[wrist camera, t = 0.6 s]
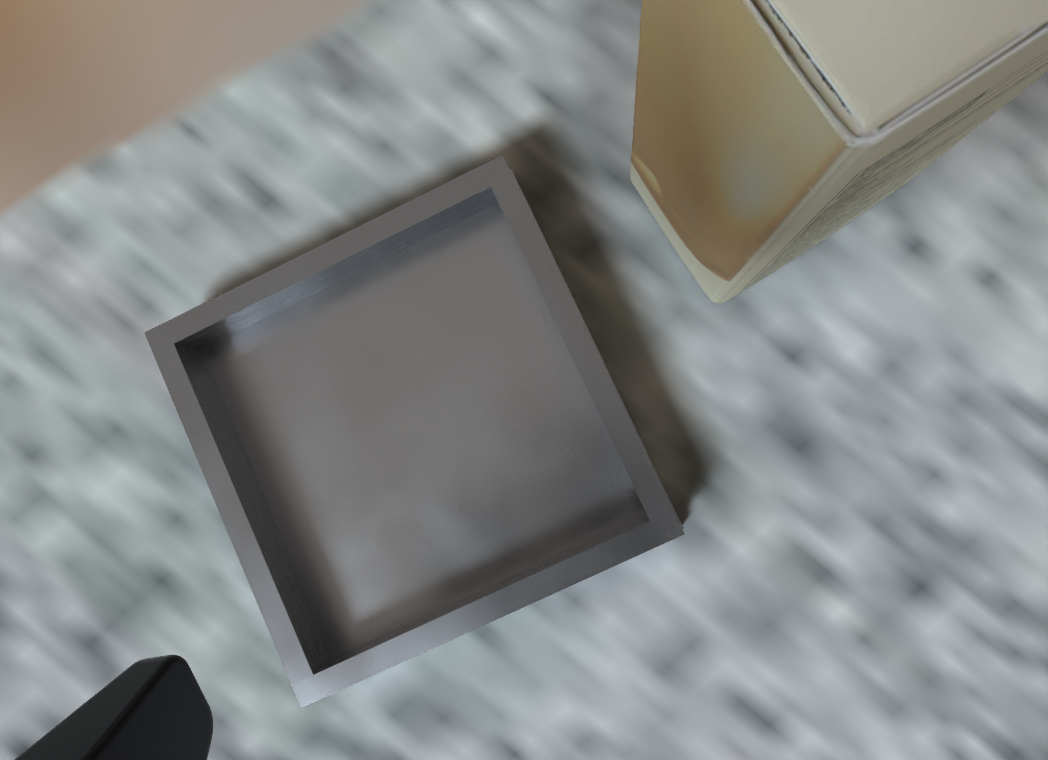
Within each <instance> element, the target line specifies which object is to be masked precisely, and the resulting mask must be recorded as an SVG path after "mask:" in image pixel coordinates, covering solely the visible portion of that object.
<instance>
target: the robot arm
mask: <svg viewBox="0 0 1048 760" xmlns="http://www.w3.org/2000/svg"><path fill="white" fill-rule="evenodd" d="M212 734H213V717H212V713H211V710H210V707H209V705H208V703H207V701H206V699H205V697H204V695H203V693H202V691H201V689H200V687H199V685H198V683H197V681H196V679H195V677H194V675H193V673H192V671H191V669H190V667H189V665H188V663H187V662H186V660H184V659H183V658H182V657H180V656H177V655H167V656H160V657H154V658H147V659H143V660H140V661H138V662H136V663H134V664H133V665H132V666H130V667H129V668H128V669H127V670H125V671H124V672H123V673H122V674H120V675H119V676H118V677H117V678H115V679H114V680H113V681H112V682H110V683H109V684H108V685H107V686H106V687H104V688H103V689H102V690H101V691H99V692H98V693H97V694H96V695H94V696H93V697H92V698H91V699H89V700H88V701H87V702H86V703H84V704H83V705H82V706H81V707H79V708H78V709H77V710H76V711H74V712H73V713H72V714H71V715H70V716H68V717H67V718H66V719H65V720H63V721H62V722H61V723H60V724H58V725H57V726H56V727H55V728H53V729H52V730H51V731H50V732H48V733H47V734H46V735H45V736H43V737H42V738H41V739H40V740H39V741H37V742H36V743H35V744H34V745H32V746H31V747H30V748H29V749H27V750H26V751H25V752H24V753H22V754H21V755H20V756H19V757H17V758H16V759H15V760H207V757H208V753H209V748H210V744H211V740H212Z"/></svg>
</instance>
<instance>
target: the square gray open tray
mask: <svg viewBox="0 0 1048 760" xmlns="http://www.w3.org/2000/svg"><path fill="white" fill-rule="evenodd" d="M145 335H146V337H147V340H148V342H149V345H150V347H151V349H152V352H153V354H154V357H155V359H156V361H157V364H158V366H159V369H160V371H161V373H162V376H163V378H164V381H165V383H166V385H167V388H168V390H169V393H170V395H171V397H172V400H173V402H174V405H175V407H176V409H177V412H178V414H179V417H180V419H181V421H182V424H183V426H184V429H185V431H186V433H187V436H188V438H189V441H190V443H191V445H192V448H193V450H194V453H195V455H196V457H197V460H198V462H199V465H200V467H201V469H202V472H203V474H204V476H205V479H206V481H207V484H208V486H209V488H210V491H211V493H212V496H213V498H214V500H215V503H216V505H217V508H218V510H219V512H220V515H221V517H222V520H223V522H224V524H225V527H226V529H227V532H228V534H229V536H230V539H231V541H232V544H233V546H234V548H235V551H236V553H237V556H238V558H239V560H240V563H241V565H242V568H243V570H244V572H245V575H246V577H247V580H248V582H249V584H250V587H251V589H252V592H253V594H254V596H255V599H256V601H257V603H258V606H259V608H260V611H261V613H262V615H263V618H264V620H265V623H266V625H267V627H268V630H269V632H270V635H271V637H272V639H273V642H274V644H275V647H276V649H277V651H278V654H279V656H280V659H281V661H282V663H283V666H284V668H285V671H286V673H287V675H288V678H289V680H290V683H291V685H292V687H293V690H294V692H295V695H296V697H297V699H298V702H299V704H300V707H301V708H302V707H305V706H307V705H309V704H311V703H313V702H316V701H318V700H320V699H322V698H324V697H327V696H329V695H331V694H333V693H335V692H338V691H340V690H342V689H344V688H346V687H349V686H351V685H353V684H355V683H357V682H360V681H362V680H364V679H366V678H368V677H371V676H373V675H375V674H377V673H380V672H382V671H384V670H386V669H388V668H391V667H393V666H395V665H397V664H399V663H402V662H404V661H406V660H408V659H410V658H413V657H415V656H417V655H419V654H421V653H424V652H426V651H428V650H430V649H432V648H435V647H437V646H439V645H441V644H443V643H446V642H448V641H450V640H452V639H454V638H457V637H459V636H461V635H463V634H465V633H468V632H470V631H472V630H474V629H476V628H479V627H481V626H483V625H485V624H488V623H490V622H492V621H494V620H496V619H499V618H501V617H503V616H505V615H507V614H510V613H512V612H514V611H516V610H518V609H521V608H523V607H525V606H527V605H529V604H532V603H534V602H536V601H538V600H540V599H543V598H545V597H547V596H549V595H551V594H554V593H556V592H558V591H560V590H562V589H565V588H567V587H569V586H571V585H573V584H576V583H578V582H580V581H582V580H585V579H587V578H589V577H591V576H593V575H596V574H598V573H600V572H602V571H604V570H607V569H609V568H611V567H613V566H615V565H618V564H620V563H622V562H624V561H626V560H629V559H631V558H633V557H635V556H637V555H640V554H642V553H644V552H646V551H648V550H651V549H653V548H655V547H657V546H659V545H662V544H664V543H666V542H668V541H670V540H673V539H675V538H677V537H679V536H681V535H684V532H683V530H682V529H684V528H683V526H682V523H681V521H680V519H679V517H678V515H677V513H676V511H675V509H674V507H673V505H672V503H671V501H670V498H669V496H668V494H667V492H666V490H665V488H664V486H663V484H662V482H661V480H660V478H659V475H658V473H657V471H656V469H655V467H654V465H653V463H652V461H651V459H650V457H649V455H648V453H647V450H646V448H645V446H644V444H643V442H642V440H641V438H640V436H639V434H638V432H637V430H636V428H635V425H634V423H633V421H632V419H631V417H630V415H629V413H628V411H627V409H626V407H625V405H624V402H623V400H622V398H621V396H620V394H619V392H618V390H617V388H616V386H615V384H614V382H613V380H612V377H611V375H610V373H609V371H608V369H607V367H606V365H605V363H604V361H603V359H602V357H601V355H600V352H599V350H598V348H597V346H596V344H595V342H594V340H593V338H592V336H591V334H590V332H589V330H588V327H587V325H586V323H585V321H584V319H583V317H582V315H581V313H580V311H579V309H578V307H577V304H576V302H575V300H574V298H573V296H572V294H571V292H570V290H569V288H568V286H567V284H566V282H565V279H564V277H563V275H562V273H561V271H560V269H559V267H558V265H557V263H556V261H555V259H554V257H553V254H552V252H551V250H550V248H549V246H548V244H547V242H546V240H545V238H544V236H543V234H542V231H541V229H540V227H539V225H538V223H537V221H536V219H535V217H534V215H533V213H532V211H531V209H530V206H529V204H528V202H527V200H526V198H525V196H524V194H523V192H522V190H521V188H520V186H519V184H518V181H517V179H516V177H515V175H514V173H513V171H512V169H509V167H508V165H507V163H506V161H505V159H504V156H503V155H501V156H499V157H497V158H495V159H493V160H491V161H489V162H487V163H485V164H483V165H481V166H479V167H477V168H475V169H473V170H471V171H469V172H467V173H465V174H463V175H461V176H459V177H457V178H455V179H453V180H451V181H449V182H447V183H445V184H443V185H441V186H439V187H437V188H435V189H433V190H431V191H429V192H427V193H425V194H423V195H421V196H419V197H417V198H415V199H413V200H411V201H408V202H406V203H404V204H402V205H400V206H398V207H396V208H394V209H392V210H390V211H388V212H386V213H384V214H382V215H380V216H378V217H376V218H374V219H372V220H370V221H368V222H366V223H364V224H362V225H360V226H358V227H356V228H354V229H352V230H350V231H348V232H346V233H344V234H342V235H340V236H338V237H336V238H334V239H332V240H330V241H328V242H326V243H324V244H322V245H320V246H318V247H316V248H314V249H312V250H310V251H308V252H306V253H304V254H302V255H300V256H298V257H296V258H294V259H292V260H290V261H288V262H286V263H284V264H282V265H280V266H278V267H276V268H274V269H272V270H270V271H268V272H266V273H264V274H262V275H260V276H258V277H256V278H254V279H252V280H250V281H247V282H245V283H243V284H241V285H239V286H237V287H235V288H233V289H231V290H229V291H227V292H225V293H223V294H221V295H219V296H217V297H215V298H213V299H211V300H209V301H207V302H205V303H203V304H201V305H199V306H197V307H195V308H193V309H191V310H189V311H187V312H185V313H183V314H181V315H179V316H177V317H175V318H173V319H171V320H169V321H167V322H165V323H163V324H161V325H159V326H157V327H155V328H153V329H151V330H149V331H147V332H145Z"/></svg>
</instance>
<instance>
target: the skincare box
mask: <svg viewBox="0 0 1048 760" xmlns="http://www.w3.org/2000/svg"><path fill="white" fill-rule="evenodd" d="M1047 71H1048V0H642V10H641V19H640V41H639V54H638V67H637V80H636V94H635V112H634V127H633V143H632V155H631V170H630V179H631V181H632V183H633V185H634V186H635V188H636V189H637V191H638V192H639V194H640V196H641V197H642V199H643V201H644V202H645V204H646V205H647V207H648V209H649V210H650V212H651V213H652V215H653V216H654V218H655V219H656V221H657V222H658V224H659V226H660V227H661V229H662V230H663V232H664V233H665V235H666V236H667V238H668V239H669V241H670V242H671V244H672V246H673V247H674V249H675V250H676V252H677V253H678V255H679V256H680V258H681V259H682V260H683V262H684V263H685V265H686V266H687V268H688V269H689V271H690V272H691V274H692V275H693V276H694V278H695V279H696V281H697V282H698V284H699V285H700V287H701V288H702V290H703V291H704V292H705V294H706V295H707V297H708V298H709V299H710V300H711V301H712V302H714V303H718V304H720V303H723V302H725V301H727V300H729V299H731V298H732V297H734V296H736V295H737V294H739V293H740V292H742V291H744V290H745V289H747V288H749V287H750V286H752V285H754V284H755V283H757V282H759V281H760V280H762V279H763V278H765V277H767V276H768V275H770V274H771V273H773V272H775V271H776V270H778V269H779V268H781V267H782V266H784V265H786V264H787V263H789V262H790V261H792V260H793V259H795V258H796V257H798V256H800V255H801V254H803V253H804V252H806V251H807V250H809V249H810V248H812V247H813V246H815V245H816V244H818V243H819V242H821V241H822V240H824V239H826V238H827V237H829V236H830V235H832V234H833V233H835V232H836V231H838V230H839V229H841V228H842V227H844V226H845V225H846V224H848V223H849V222H851V221H852V220H854V219H855V218H857V217H858V216H860V215H861V214H863V213H864V212H866V211H867V210H869V209H870V208H872V207H873V206H875V205H876V204H877V203H879V202H880V201H882V200H883V199H885V198H886V197H887V196H889V195H890V194H892V193H893V192H894V191H896V190H897V189H899V188H900V187H901V186H903V185H904V184H906V183H907V182H908V181H910V180H911V179H912V178H914V177H915V176H916V175H918V174H919V173H920V172H921V171H922V170H924V169H925V168H926V167H927V166H928V165H930V164H931V163H932V162H933V161H935V160H936V159H937V158H939V157H940V156H941V155H943V154H944V153H945V152H946V151H948V150H949V149H950V148H951V147H953V146H954V145H955V144H956V143H958V142H959V141H960V140H961V139H962V138H964V137H965V136H966V135H968V134H969V133H970V132H971V131H973V130H974V129H975V128H976V127H978V126H979V125H980V124H981V123H983V122H984V121H985V120H986V119H988V118H989V117H990V116H991V115H993V114H994V113H995V112H996V111H998V110H999V109H1000V108H1002V107H1003V106H1004V105H1006V104H1007V103H1008V102H1009V101H1011V100H1012V99H1013V98H1014V97H1016V96H1017V95H1018V94H1019V93H1020V92H1022V91H1023V90H1024V89H1026V88H1027V87H1028V86H1029V85H1031V84H1032V83H1033V82H1034V81H1036V80H1037V79H1038V78H1039V77H1041V76H1042V75H1043V74H1045V73H1046V72H1047Z"/></svg>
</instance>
